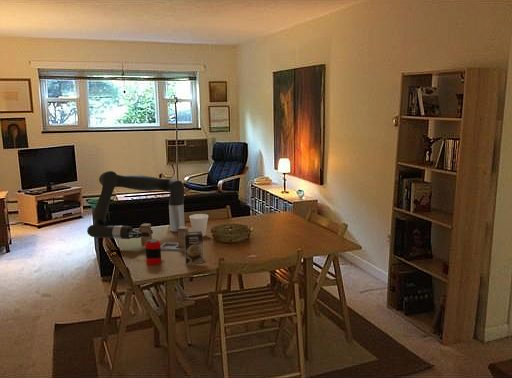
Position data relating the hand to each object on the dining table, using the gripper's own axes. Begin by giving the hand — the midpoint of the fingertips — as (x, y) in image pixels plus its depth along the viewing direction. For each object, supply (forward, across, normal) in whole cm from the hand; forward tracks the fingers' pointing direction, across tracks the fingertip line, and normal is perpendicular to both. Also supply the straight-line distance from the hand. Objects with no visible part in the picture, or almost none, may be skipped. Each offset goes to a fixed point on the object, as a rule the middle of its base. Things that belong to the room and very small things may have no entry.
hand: (150, 233), depth 265 cm
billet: (-3, 0, +7) cm, 8 cm away
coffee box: (+31, -18, +10) cm, 37 cm away
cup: (+19, +30, +10) cm, 37 cm away
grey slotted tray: (+15, 0, +10) cm, 18 cm away
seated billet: (+19, 0, +8) cm, 21 cm away
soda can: (+10, -21, +10) cm, 25 cm away
